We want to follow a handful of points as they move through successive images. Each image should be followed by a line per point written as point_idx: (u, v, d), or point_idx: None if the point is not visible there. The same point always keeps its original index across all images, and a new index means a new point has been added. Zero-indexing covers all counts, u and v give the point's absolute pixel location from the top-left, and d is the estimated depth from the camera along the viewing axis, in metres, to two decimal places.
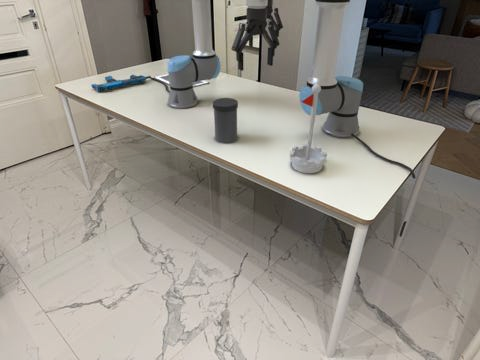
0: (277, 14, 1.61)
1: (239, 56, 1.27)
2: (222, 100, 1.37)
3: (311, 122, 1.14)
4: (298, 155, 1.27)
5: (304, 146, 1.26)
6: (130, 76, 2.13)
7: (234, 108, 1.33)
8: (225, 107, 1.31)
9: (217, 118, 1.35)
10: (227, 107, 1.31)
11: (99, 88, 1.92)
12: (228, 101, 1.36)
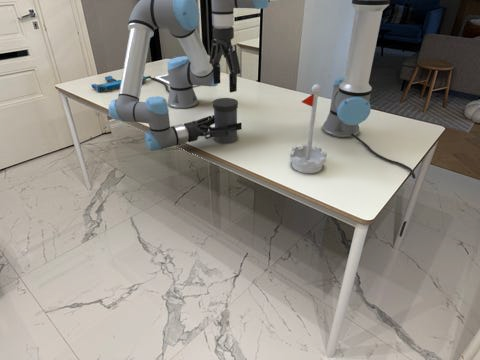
0: (230, 54, 1.19)
1: None
2: (222, 100, 1.37)
3: (311, 122, 1.14)
4: (298, 155, 1.27)
5: (304, 146, 1.26)
6: None
7: (234, 108, 1.33)
8: (225, 107, 1.31)
9: (217, 118, 1.35)
10: (227, 107, 1.31)
11: (99, 88, 1.92)
12: (228, 101, 1.36)
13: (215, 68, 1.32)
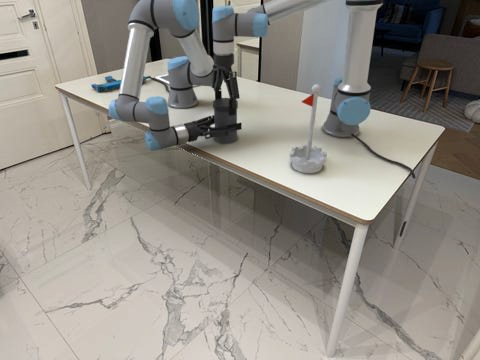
0: (230, 80, 1.25)
1: None
2: (222, 100, 1.37)
3: (311, 122, 1.14)
4: (298, 155, 1.27)
5: (304, 146, 1.26)
6: None
7: None
8: (225, 107, 1.31)
9: (217, 118, 1.35)
10: (227, 107, 1.31)
11: (99, 88, 1.92)
12: (228, 101, 1.36)
13: (217, 92, 1.37)
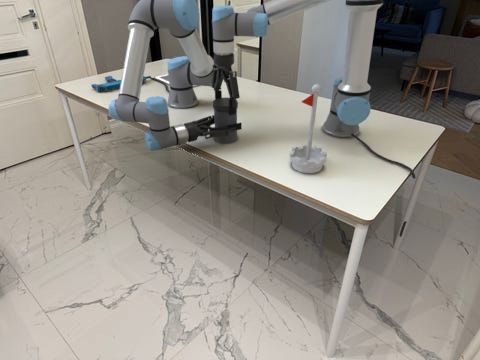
0: (230, 80, 1.25)
1: None
2: (220, 102, 1.34)
3: (311, 122, 1.14)
4: (298, 155, 1.27)
5: (304, 146, 1.26)
6: None
7: None
8: (237, 102, 1.35)
9: (217, 118, 1.35)
10: None
11: (99, 88, 1.92)
12: (223, 100, 1.36)
13: (217, 92, 1.37)
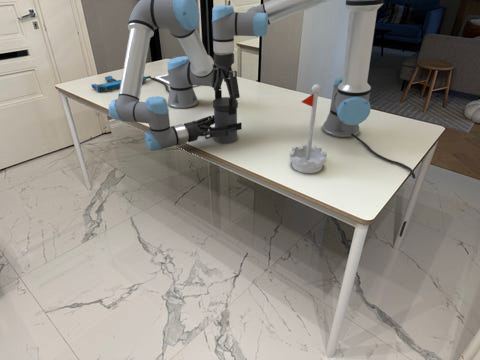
0: (230, 79, 1.24)
1: None
2: (227, 103, 1.33)
3: (311, 122, 1.14)
4: (298, 155, 1.27)
5: (304, 146, 1.26)
6: None
7: None
8: None
9: (217, 118, 1.35)
10: None
11: (99, 88, 1.92)
12: (221, 101, 1.35)
13: (217, 92, 1.37)
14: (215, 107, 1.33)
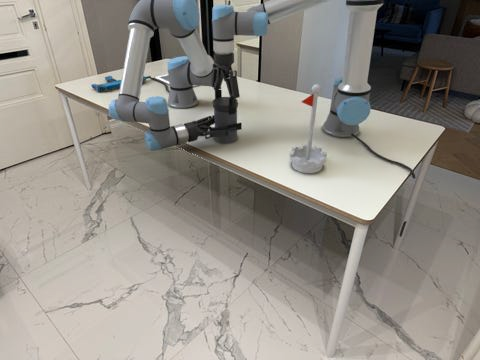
0: (230, 79, 1.24)
1: None
2: None
3: (311, 122, 1.14)
4: (298, 155, 1.27)
5: (304, 146, 1.26)
6: None
7: (214, 107, 1.33)
8: (213, 101, 1.36)
9: (217, 118, 1.35)
10: None
11: (99, 88, 1.92)
12: (225, 102, 1.34)
13: (217, 91, 1.37)
14: None
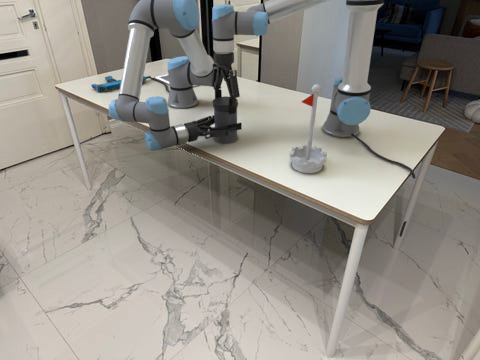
0: (230, 78, 1.24)
1: None
2: (224, 98, 1.37)
3: (311, 122, 1.14)
4: (298, 155, 1.27)
5: (304, 146, 1.26)
6: None
7: None
8: (221, 106, 1.31)
9: (217, 118, 1.35)
10: (223, 106, 1.31)
11: (99, 88, 1.92)
12: (228, 100, 1.35)
13: (217, 91, 1.37)
14: None
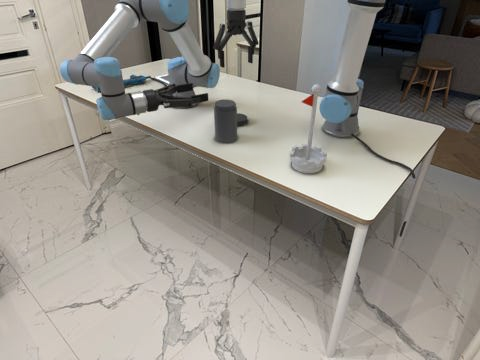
0: (251, 29, 1.38)
1: None
2: None
3: (311, 122, 1.14)
4: (298, 155, 1.27)
5: (304, 146, 1.26)
6: (130, 76, 2.13)
7: None
8: (246, 119, 1.56)
9: (217, 118, 1.35)
10: (247, 119, 1.57)
11: (99, 88, 1.92)
12: None
13: None
14: None
